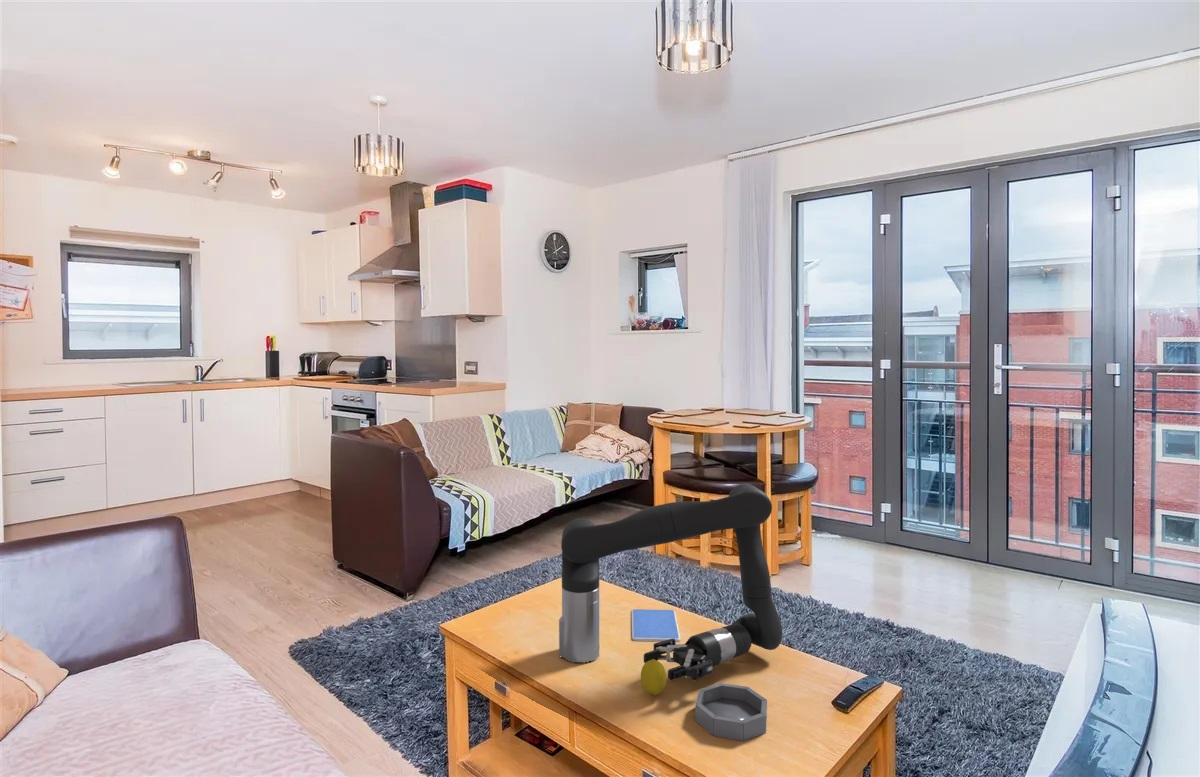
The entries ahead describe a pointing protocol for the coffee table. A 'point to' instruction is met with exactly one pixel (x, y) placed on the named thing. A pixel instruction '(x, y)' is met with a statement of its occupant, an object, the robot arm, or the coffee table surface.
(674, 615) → the tablet computer
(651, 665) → the lemon
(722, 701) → the bowl
